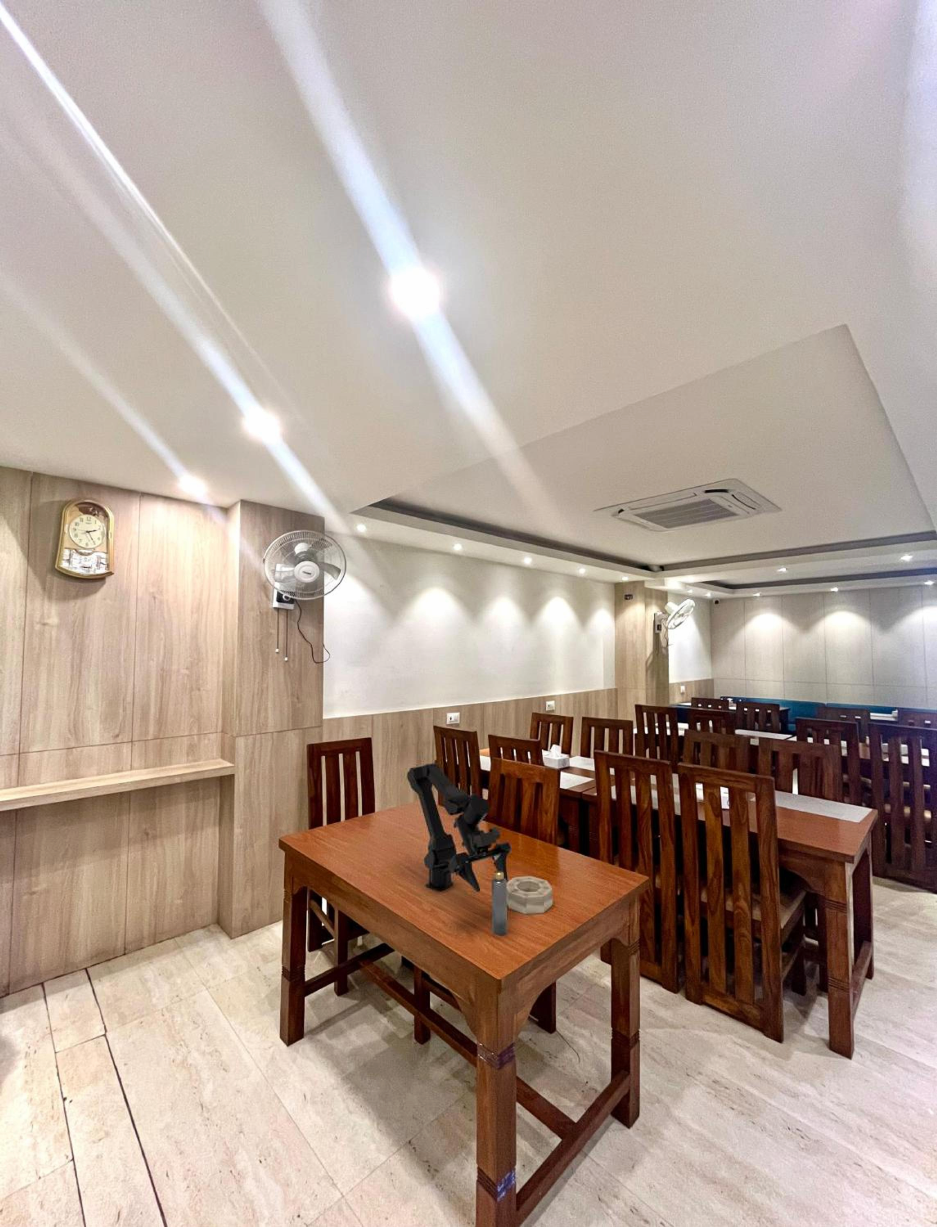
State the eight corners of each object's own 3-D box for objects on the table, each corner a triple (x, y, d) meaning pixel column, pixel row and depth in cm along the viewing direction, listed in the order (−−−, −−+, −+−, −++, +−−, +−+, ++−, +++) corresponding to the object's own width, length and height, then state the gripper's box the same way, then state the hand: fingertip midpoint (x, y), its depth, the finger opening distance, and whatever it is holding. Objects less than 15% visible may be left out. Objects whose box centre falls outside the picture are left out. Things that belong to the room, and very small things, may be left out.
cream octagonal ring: (498, 904, 147) (498, 889, 148) (520, 887, 158) (520, 873, 158) (538, 918, 140) (537, 901, 140) (558, 899, 150) (557, 883, 151)
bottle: (489, 931, 133) (488, 873, 134) (497, 925, 136) (496, 868, 138) (502, 936, 131) (501, 877, 132) (510, 929, 134) (509, 871, 135)
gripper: (453, 824, 138) (476, 881, 127) (507, 812, 148) (532, 864, 138) (439, 845, 144) (460, 901, 133) (492, 832, 154) (515, 883, 143)
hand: (493, 886), depth 137 cm, fingers open, 9 cm apart
